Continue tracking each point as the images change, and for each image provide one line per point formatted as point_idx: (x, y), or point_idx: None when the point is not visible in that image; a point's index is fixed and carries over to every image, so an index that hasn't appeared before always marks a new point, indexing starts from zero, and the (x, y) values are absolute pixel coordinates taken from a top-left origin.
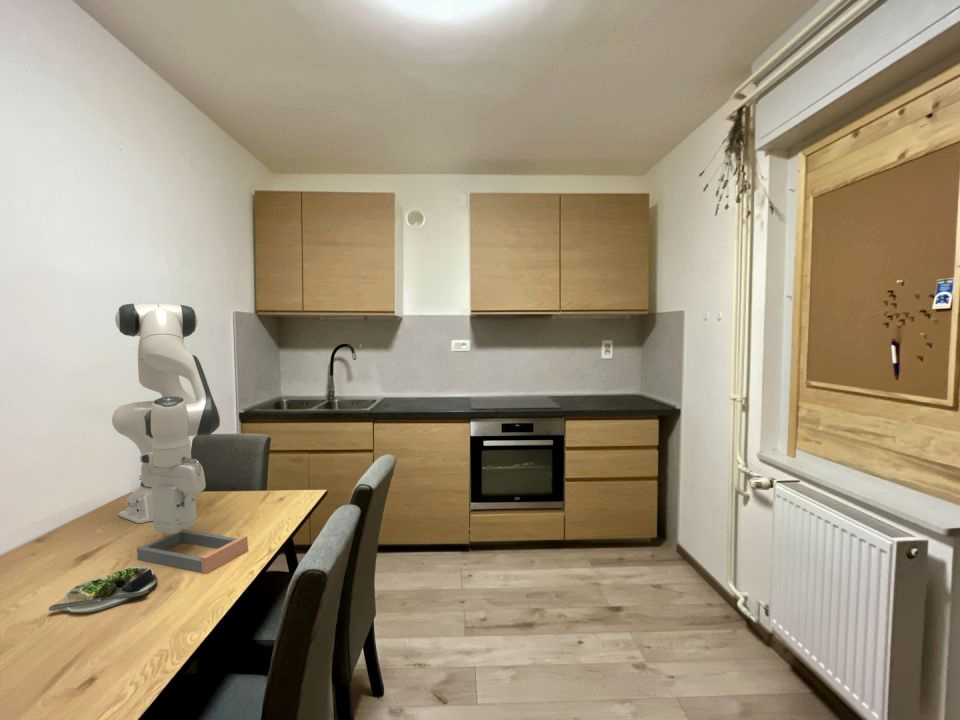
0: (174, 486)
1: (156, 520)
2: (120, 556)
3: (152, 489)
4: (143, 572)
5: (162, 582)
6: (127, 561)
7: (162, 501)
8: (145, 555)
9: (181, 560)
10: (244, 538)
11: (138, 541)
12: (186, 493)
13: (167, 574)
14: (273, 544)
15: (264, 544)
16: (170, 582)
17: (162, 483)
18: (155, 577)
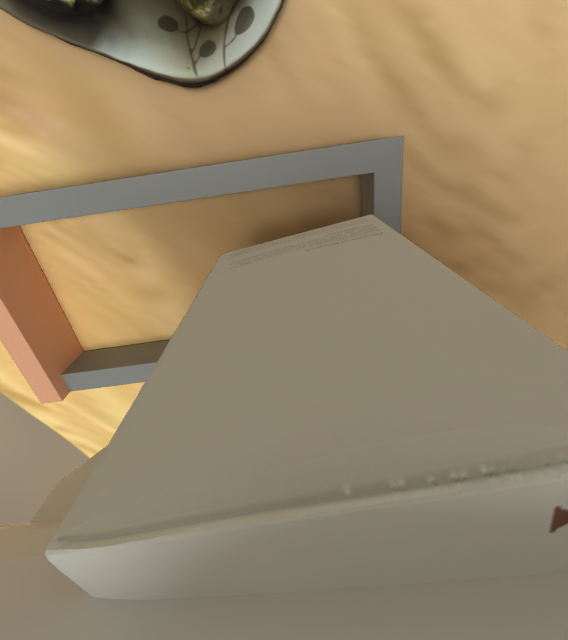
0: (168, 599)
1: (361, 234)
2: (500, 118)
3: None
4: (184, 43)
5: (36, 52)
6: (416, 103)
7: (313, 322)
8: (338, 145)
9: (97, 182)
10: (36, 391)
11: (551, 243)
12: (49, 517)
13: (108, 115)
14: (55, 421)
15: (79, 411)
16: (7, 72)
17: (549, 606)
18: (38, 21)
